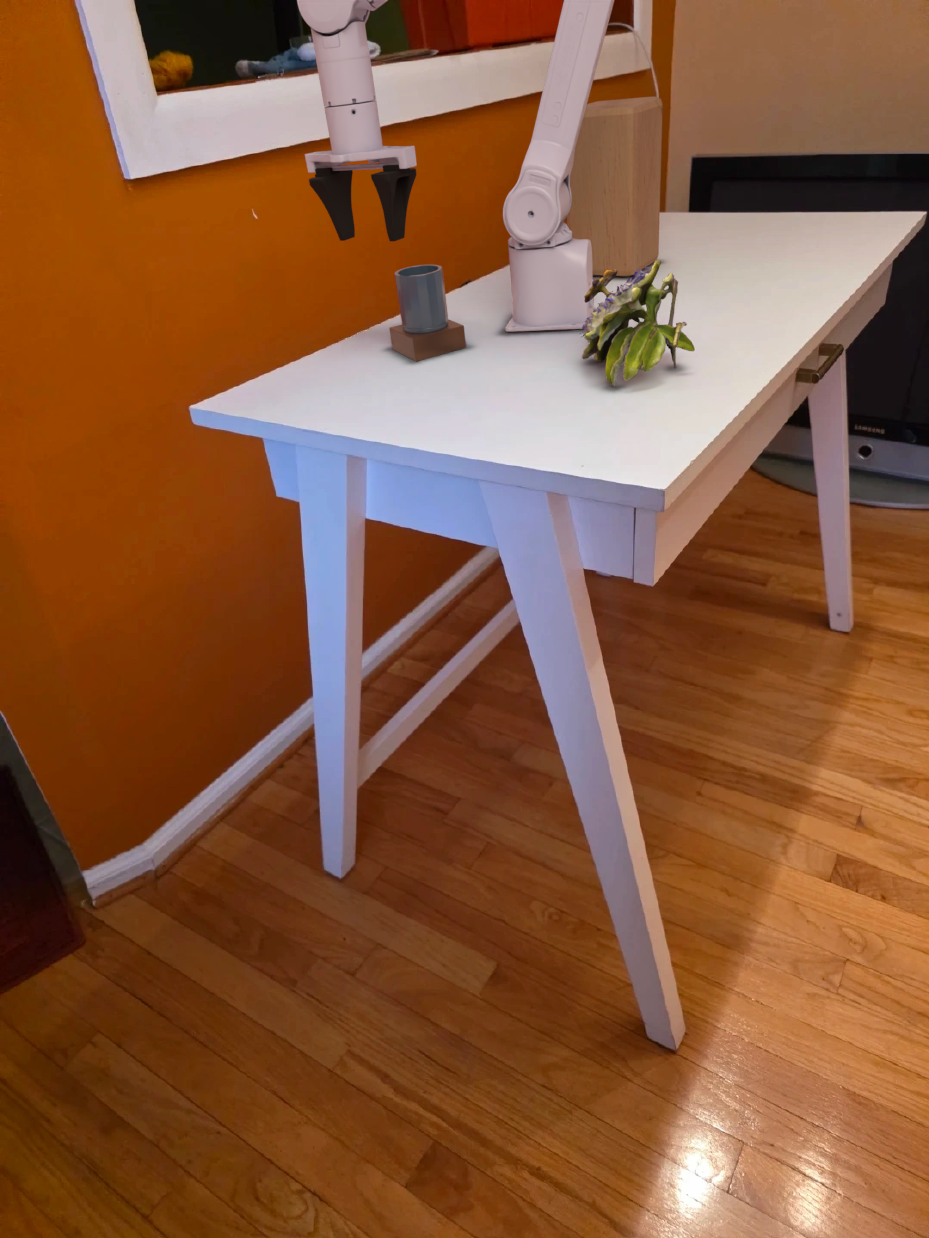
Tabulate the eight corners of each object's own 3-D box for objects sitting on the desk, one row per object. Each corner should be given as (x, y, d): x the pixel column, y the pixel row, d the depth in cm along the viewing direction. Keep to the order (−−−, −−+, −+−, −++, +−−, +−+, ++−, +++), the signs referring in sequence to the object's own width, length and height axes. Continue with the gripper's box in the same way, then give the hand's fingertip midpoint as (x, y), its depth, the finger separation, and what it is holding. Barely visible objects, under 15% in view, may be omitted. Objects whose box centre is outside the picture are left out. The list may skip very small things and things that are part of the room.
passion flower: (603, 413, 86) (603, 300, 86) (708, 399, 81) (708, 278, 81) (563, 385, 76) (562, 257, 76) (680, 366, 71) (679, 230, 71)
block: (440, 336, 97) (438, 315, 95) (466, 347, 92) (464, 325, 91) (392, 349, 95) (388, 327, 93) (415, 361, 90) (412, 338, 89)
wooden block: (660, 260, 116) (665, 95, 105) (633, 278, 109) (634, 104, 98) (596, 259, 121) (594, 101, 109) (566, 276, 114) (560, 110, 103)
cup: (453, 319, 93) (447, 263, 90) (441, 332, 89) (434, 274, 86) (410, 321, 95) (402, 266, 91) (397, 334, 91) (388, 277, 87)
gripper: (277, 113, 89) (304, 246, 97) (379, 103, 82) (399, 248, 90) (319, 105, 94) (342, 233, 102) (420, 95, 87) (436, 234, 94)
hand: (371, 239), depth 96 cm, fingers open, 7 cm apart
